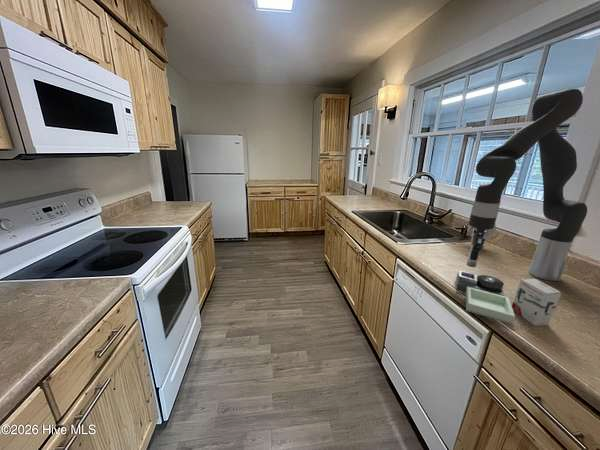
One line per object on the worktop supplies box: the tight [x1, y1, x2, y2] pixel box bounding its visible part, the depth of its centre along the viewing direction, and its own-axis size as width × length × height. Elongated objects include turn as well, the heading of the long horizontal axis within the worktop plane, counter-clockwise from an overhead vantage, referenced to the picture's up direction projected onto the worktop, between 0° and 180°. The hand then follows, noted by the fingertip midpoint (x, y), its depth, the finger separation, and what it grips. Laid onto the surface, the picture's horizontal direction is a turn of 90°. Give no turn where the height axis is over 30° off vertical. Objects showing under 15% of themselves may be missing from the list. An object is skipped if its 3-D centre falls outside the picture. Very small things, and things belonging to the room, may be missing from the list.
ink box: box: [511, 278, 562, 327], centre depth 77 cm, size 9×5×12 cm, turn 5°
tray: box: [464, 287, 516, 325], centre depth 82 cm, size 12×12×3 cm
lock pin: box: [466, 239, 480, 268], centre depth 91 cm, size 3×3×10 cm
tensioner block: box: [455, 269, 505, 296], centre depth 92 cm, size 14×10×6 cm
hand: (472, 257), depth 91 cm, fingers closed on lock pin, 3 cm apart
